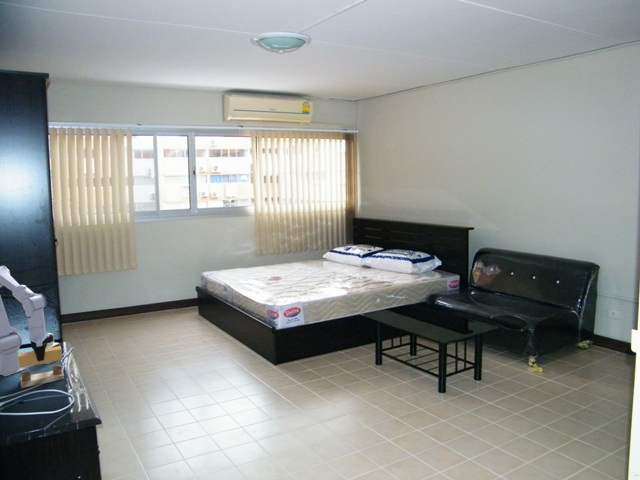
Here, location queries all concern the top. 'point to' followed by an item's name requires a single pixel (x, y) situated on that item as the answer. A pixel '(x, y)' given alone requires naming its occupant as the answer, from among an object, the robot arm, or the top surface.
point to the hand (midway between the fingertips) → (40, 358)
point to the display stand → (41, 377)
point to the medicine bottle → (50, 343)
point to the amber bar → (31, 358)
